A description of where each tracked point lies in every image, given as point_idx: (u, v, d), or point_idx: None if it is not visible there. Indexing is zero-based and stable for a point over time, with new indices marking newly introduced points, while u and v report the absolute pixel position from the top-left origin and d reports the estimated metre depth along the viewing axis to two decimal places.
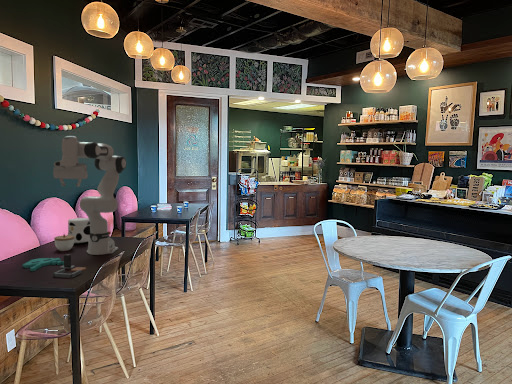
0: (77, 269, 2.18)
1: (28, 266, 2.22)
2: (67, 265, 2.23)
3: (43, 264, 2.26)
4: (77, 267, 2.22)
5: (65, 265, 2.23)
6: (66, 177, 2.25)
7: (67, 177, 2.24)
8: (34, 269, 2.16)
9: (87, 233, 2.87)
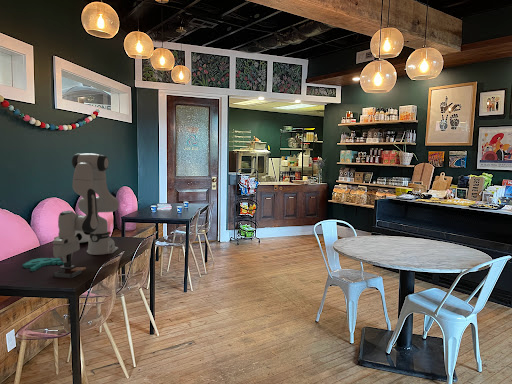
0: (77, 269, 2.18)
1: (28, 266, 2.22)
2: (67, 265, 2.23)
3: (43, 264, 2.26)
4: (77, 267, 2.22)
5: (65, 265, 2.23)
6: (68, 253, 2.22)
7: (69, 253, 2.22)
8: (34, 269, 2.16)
9: (88, 233, 2.87)
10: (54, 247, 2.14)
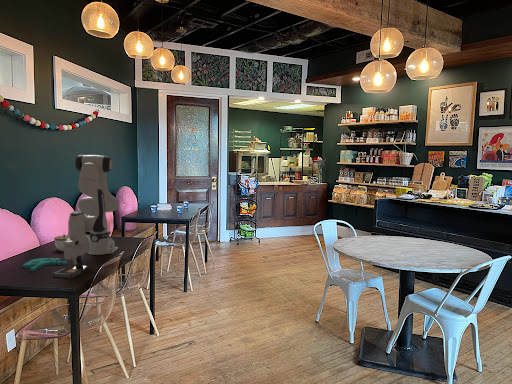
0: (72, 271, 2.13)
1: (28, 266, 2.22)
2: (79, 267, 2.18)
3: (43, 264, 2.26)
4: (72, 269, 2.18)
5: (77, 267, 2.19)
6: (79, 255, 2.17)
7: (79, 254, 2.17)
8: (34, 269, 2.16)
9: (88, 233, 2.87)
10: (65, 248, 2.09)
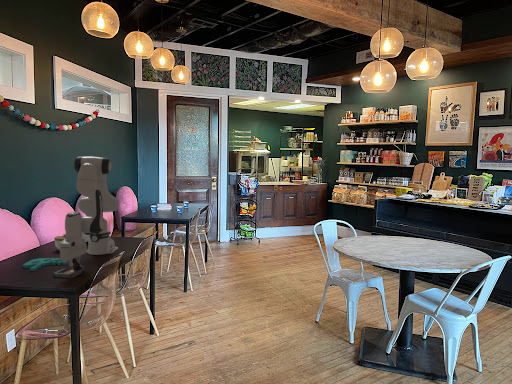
0: (69, 273, 2.11)
1: (28, 266, 2.22)
2: (76, 268, 2.16)
3: (43, 264, 2.26)
4: (70, 270, 2.15)
5: (74, 268, 2.16)
6: (75, 256, 2.12)
7: (76, 256, 2.13)
8: (34, 269, 2.16)
9: (87, 233, 2.87)
10: (61, 250, 2.05)
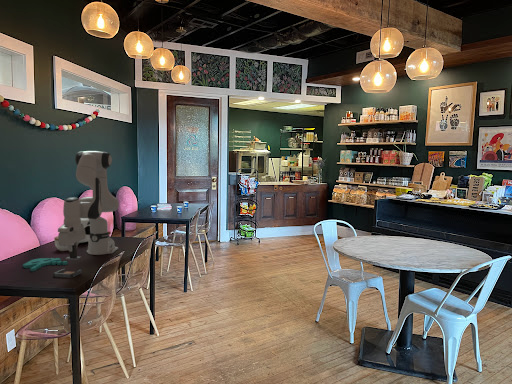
0: None
1: (28, 266, 2.22)
2: (73, 256, 2.13)
3: (43, 264, 2.26)
4: (66, 271, 2.13)
5: (71, 256, 2.14)
6: (74, 242, 2.12)
7: (74, 241, 2.13)
8: (34, 269, 2.16)
9: (87, 233, 2.87)
10: (59, 235, 2.04)
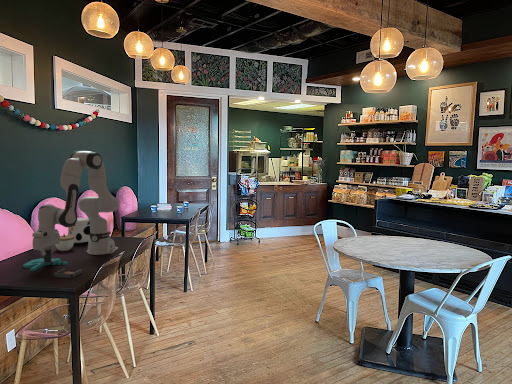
0: None
1: (28, 266, 2.22)
2: (47, 260, 2.27)
3: (43, 264, 2.26)
4: (67, 272, 2.13)
5: (45, 260, 2.27)
6: (48, 246, 2.26)
7: (48, 245, 2.27)
8: (34, 269, 2.16)
9: (87, 233, 2.87)
10: (33, 240, 2.18)
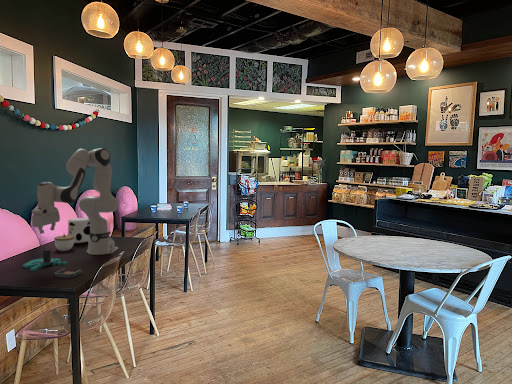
0: None
1: (28, 267, 2.22)
2: (46, 260, 2.27)
3: (43, 264, 2.26)
4: (67, 271, 2.13)
5: (44, 260, 2.27)
6: (47, 223, 2.25)
7: (48, 223, 2.26)
8: (34, 270, 2.16)
9: (87, 233, 2.87)
10: (33, 217, 2.17)
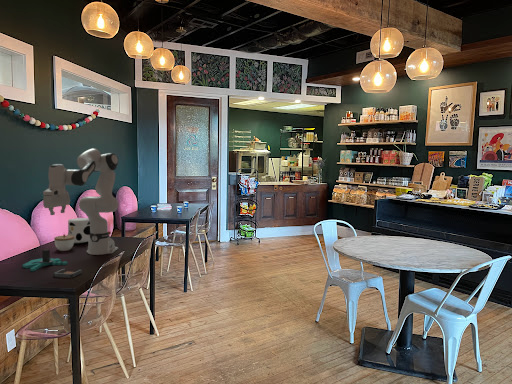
0: None
1: (28, 266, 2.22)
2: (46, 260, 2.27)
3: (43, 264, 2.26)
4: (67, 272, 2.13)
5: (44, 260, 2.27)
6: (58, 205, 2.25)
7: (59, 205, 2.26)
8: (34, 269, 2.16)
9: (87, 233, 2.87)
10: (44, 197, 2.18)
